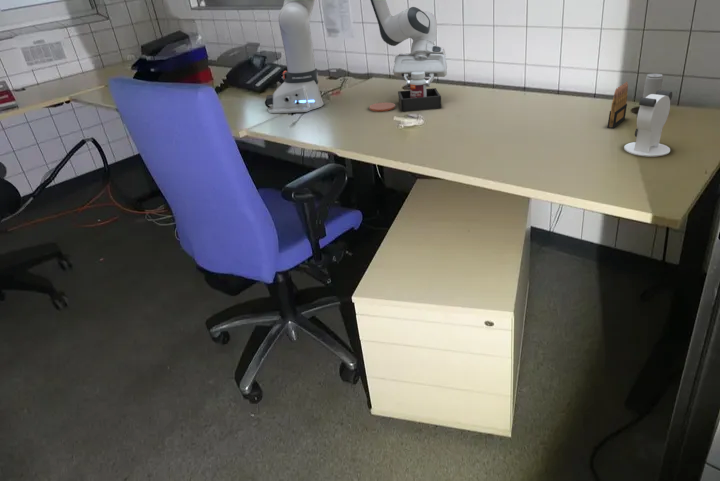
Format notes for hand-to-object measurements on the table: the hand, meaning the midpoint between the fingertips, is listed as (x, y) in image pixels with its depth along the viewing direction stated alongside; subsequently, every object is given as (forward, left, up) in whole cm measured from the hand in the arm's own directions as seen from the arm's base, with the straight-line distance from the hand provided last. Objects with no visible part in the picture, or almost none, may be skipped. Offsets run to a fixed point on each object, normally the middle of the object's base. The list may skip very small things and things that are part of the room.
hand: (417, 85), depth 204 cm
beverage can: (+71, -32, -8) cm, 79 cm away
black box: (0, +1, -8) cm, 8 cm away
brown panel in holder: (+57, -40, -8) cm, 70 cm away
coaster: (-14, +2, -8) cm, 16 cm away
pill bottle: (0, +1, -7) cm, 7 cm away
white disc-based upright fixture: (+55, -64, -8) cm, 85 cm away
